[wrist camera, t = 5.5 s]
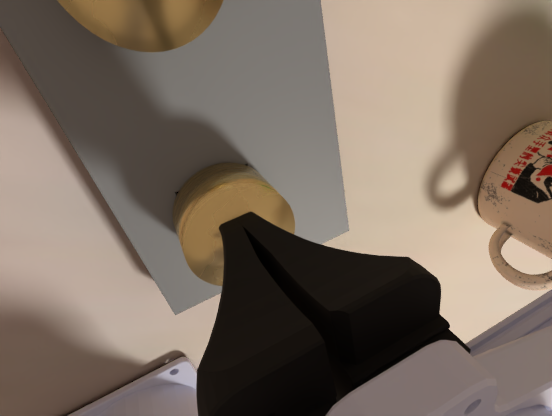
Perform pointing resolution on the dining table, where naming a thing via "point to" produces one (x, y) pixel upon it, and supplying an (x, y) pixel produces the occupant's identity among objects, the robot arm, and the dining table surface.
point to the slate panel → (192, 118)
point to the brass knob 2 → (222, 213)
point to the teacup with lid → (520, 200)
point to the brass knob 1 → (144, 21)
